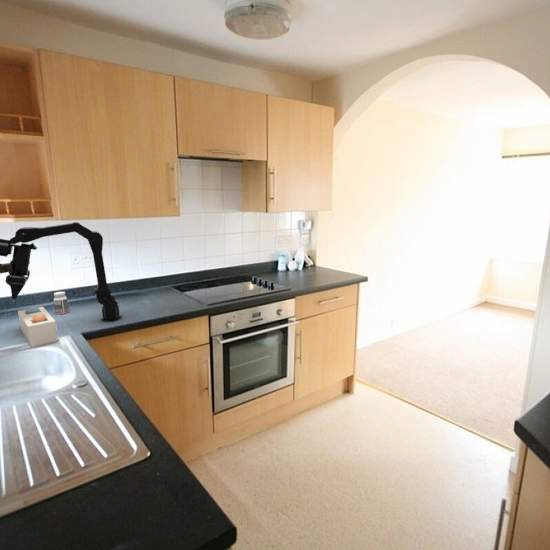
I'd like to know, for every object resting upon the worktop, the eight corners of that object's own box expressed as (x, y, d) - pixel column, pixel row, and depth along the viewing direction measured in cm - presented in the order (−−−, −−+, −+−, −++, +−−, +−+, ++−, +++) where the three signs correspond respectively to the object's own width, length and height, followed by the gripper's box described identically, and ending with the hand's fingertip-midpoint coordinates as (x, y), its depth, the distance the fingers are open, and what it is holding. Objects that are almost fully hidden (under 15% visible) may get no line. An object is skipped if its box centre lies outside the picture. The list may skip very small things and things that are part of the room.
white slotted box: (20, 329, 157) (17, 310, 155) (45, 324, 163) (42, 306, 161) (31, 347, 138) (27, 326, 136) (58, 340, 144) (55, 321, 142)
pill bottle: (66, 310, 183) (63, 290, 181) (71, 312, 179) (68, 292, 177) (53, 313, 178) (50, 293, 176) (58, 315, 175) (55, 294, 173)
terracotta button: (49, 320, 145) (48, 314, 144) (39, 324, 141) (38, 318, 140) (39, 319, 146) (38, 314, 145) (30, 323, 142) (29, 317, 141)
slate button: (41, 311, 156) (40, 306, 155) (32, 315, 152) (32, 309, 151) (32, 311, 157) (32, 305, 156) (24, 314, 153) (23, 309, 152)
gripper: (0, 252, 152) (-5, 289, 154) (-9, 258, 136) (-15, 299, 138) (32, 256, 158) (27, 292, 159) (27, 263, 142) (21, 302, 143)
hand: (15, 296), depth 150 cm, fingers open, 9 cm apart
